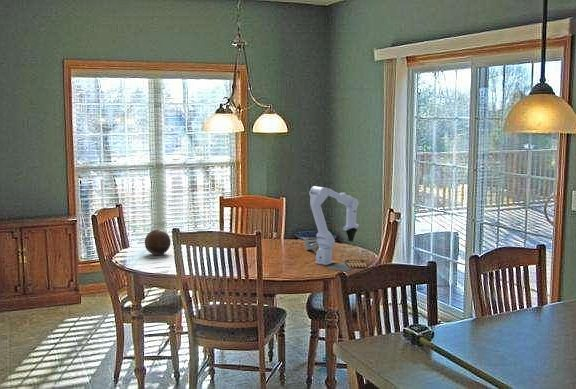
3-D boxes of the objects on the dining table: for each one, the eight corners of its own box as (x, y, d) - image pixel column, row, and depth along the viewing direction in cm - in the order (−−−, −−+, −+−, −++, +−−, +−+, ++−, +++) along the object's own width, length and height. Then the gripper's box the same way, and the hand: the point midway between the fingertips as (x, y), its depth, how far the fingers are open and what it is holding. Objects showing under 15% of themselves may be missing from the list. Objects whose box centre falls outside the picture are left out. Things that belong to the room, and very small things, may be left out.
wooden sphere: (175, 254, 395) (175, 229, 393) (158, 258, 383) (157, 232, 381) (157, 251, 403) (157, 226, 402) (139, 255, 391) (139, 230, 389)
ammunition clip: (363, 259, 373) (368, 265, 361) (363, 263, 373) (367, 268, 361) (345, 259, 372) (348, 265, 360) (344, 263, 372) (348, 268, 360)
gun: (310, 263, 411) (308, 240, 415) (324, 256, 389) (321, 231, 392) (306, 264, 410) (303, 240, 414) (319, 257, 388) (316, 231, 391)
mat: (345, 271, 354) (345, 270, 354) (326, 268, 361) (326, 267, 361) (360, 265, 368) (360, 265, 368) (342, 263, 375) (342, 262, 375)
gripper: (351, 220, 375) (350, 243, 377) (363, 217, 387) (362, 240, 389) (340, 219, 380) (340, 242, 381) (352, 216, 391) (352, 238, 393)
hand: (350, 241), depth 385 cm, fingers closed
